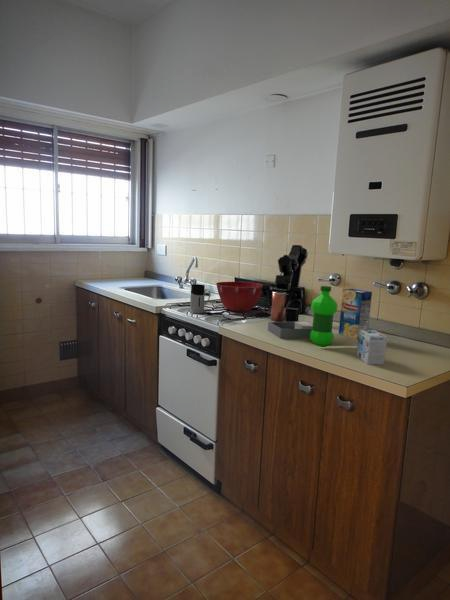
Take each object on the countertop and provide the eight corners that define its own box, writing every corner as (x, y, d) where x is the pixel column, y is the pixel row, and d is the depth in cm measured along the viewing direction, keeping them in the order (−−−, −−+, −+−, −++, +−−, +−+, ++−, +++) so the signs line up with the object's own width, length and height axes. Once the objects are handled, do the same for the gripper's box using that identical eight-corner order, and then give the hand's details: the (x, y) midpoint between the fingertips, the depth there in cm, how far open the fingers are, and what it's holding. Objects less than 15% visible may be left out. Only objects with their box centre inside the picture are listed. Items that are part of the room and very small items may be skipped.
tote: (306, 331, 202) (307, 321, 201) (321, 339, 188) (322, 328, 187) (267, 332, 197) (268, 321, 196) (280, 340, 183) (280, 329, 182)
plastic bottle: (303, 342, 181) (308, 284, 177) (324, 341, 185) (329, 284, 181) (317, 349, 172) (322, 288, 168) (338, 347, 176) (344, 288, 172)
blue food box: (357, 341, 188) (362, 292, 185) (338, 335, 197) (342, 289, 194) (367, 339, 192) (372, 291, 189) (348, 334, 201) (352, 288, 198)
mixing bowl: (205, 307, 252) (206, 282, 249) (238, 304, 271) (240, 280, 269) (238, 316, 232) (239, 288, 229) (272, 311, 251) (274, 285, 248)
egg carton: (306, 331, 199) (306, 321, 198) (315, 336, 190) (316, 326, 189) (293, 331, 197) (294, 321, 196) (302, 336, 188) (303, 326, 188)
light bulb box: (355, 356, 165) (358, 329, 163) (372, 356, 165) (375, 329, 164) (367, 364, 154) (370, 335, 153) (384, 365, 155) (388, 336, 153)
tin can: (276, 318, 197) (277, 290, 194) (287, 320, 192) (289, 292, 190) (267, 320, 192) (269, 291, 190) (279, 322, 188) (281, 293, 185)
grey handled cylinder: (197, 309, 245) (198, 283, 243) (214, 313, 235) (215, 286, 233) (186, 310, 239) (186, 284, 236) (203, 315, 229) (204, 287, 227)
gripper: (263, 267, 195) (255, 293, 187) (303, 270, 189) (296, 297, 180) (266, 282, 204) (259, 308, 195) (305, 285, 197) (299, 312, 189)
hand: (277, 306), depth 190 cm, fingers closed on tin can, 6 cm apart
